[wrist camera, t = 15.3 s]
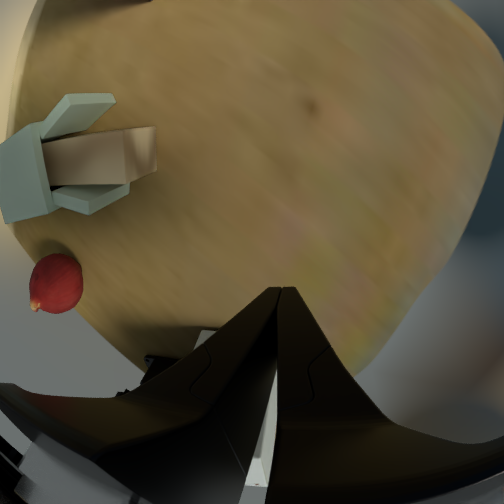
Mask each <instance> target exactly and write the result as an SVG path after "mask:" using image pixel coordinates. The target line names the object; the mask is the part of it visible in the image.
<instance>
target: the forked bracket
mask: <svg viewBox="0 0 504 504" xmlns="http://www.w3.org/2000/svg"><path fill="white" fill-rule="evenodd" d="M115 103H116V101H115V99H114V97H113V95H112V93H76V94H66V95H65V96H64V97H63V98H62V99H61V101H60V102H59V103H58V104H57V105H56V106H55V108H54V109H53V110H52V111H51V113H50V114H49V115H48V116H47V118H46V119H45V120H44V121H41V122H35V123H30V124H29V125H27V126H26V127H24V128H23V129H21V130H20V131H18V132H17V133H15V134H14V135H13V136H11V137H10V138H8V139H7V140H6V141H4V142H3V143H2V144H0V207H1V211H2V215H3V218H4V222H5V224H8V223H12V222H16V221H20V220H24V219H28V218H32V217H37V216H41V215H45V214H49V213H51V212H53V211H55V210H57V209H59V208H61V207H64V208H67V209H70V210H73V211H76V212H79V213H83V214H86V215H91V214H92V213H94V212H96V211H98V210H100V209H101V208H103V207H105V206H107V205H109V204H111V203H112V202H114V201H116V200H118V199H120V198H122V197H124V196H126V195H128V194H129V189H130V183H128V184H87V185H66V186H64V187H61V188H59V189H57V190H54V191H50V186H49V182H48V178H47V173H46V168H45V163H44V158H43V152H42V146H41V143H44V142H48V141H52V140H54V139H56V138H58V137H60V136H62V135H65V134H68V133H73V132H79V131H84V130H87V129H88V128H89V127H90V126H91V125H92V124H93V123H94V122H95V121H96V120H97V119H98V118H100V117H101V116H102V115H103V114H104V113H105V112H106V111H107V110H108V109H110V108H111V107H112V106H113V105H114V104H115Z"/></svg>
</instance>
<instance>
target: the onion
mask: <svg viewBox="0 0 504 504" xmlns="http://www.w3.org/2000/svg"><path fill="white" fill-rule="evenodd" d="M29 290H30V307H31V309H32V310H33V311H35V312H37V311H38V309H42V310H43V311H46V312H49V313H54V314H59V313H63V312H66V311H68V310H70V309H72V308H73V307H75V306H76V304H77V303H78V302H79V300H80V298H81V296H82V293H83V277H82V269H81V266H80V264H79V263H78V262H76V261H75V260H74V259H72V258H71V257H69V256H67V255H64V254H60V253H59V254H51V255H48V256H46V257H44V258H42V259H41V260H40V261H39V262H38V263H37V264H36V266H35V267H34V269H33V272H32V275H31V278H30V283H29Z"/></svg>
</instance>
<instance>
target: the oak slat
mask: <svg viewBox="0 0 504 504" xmlns="http://www.w3.org/2000/svg"><path fill="white" fill-rule="evenodd" d="M41 146H42V152H43V158H44V163H45V168H46V173H47V178H48V182H49V186H53V185H87V184H128V183H130V182H132V181H135V180H137V179H139V178H141V177H144V176H146V175H148V174H151V173H153V172H156V171H157V157H156V126H152V127H140V128H129V129H120V130H112V131H104V132H97V133H91V134H84V135H78V136H72V137H67V138H62V139H57V140H52V141H48V142H44V143H41Z"/></svg>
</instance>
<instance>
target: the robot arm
mask: <svg viewBox="0 0 504 504" xmlns="http://www.w3.org/2000/svg"><path fill="white" fill-rule="evenodd" d="M203 343H204V344H203ZM203 343H202V344H200V345H199V346H198V347H197V348H195V349H194V350H193V351H192V352H190V353H189V354H188V355H186V356H185V357H184V358H182V359H181V360H176V359H169V358H162V357H155V356H149V355H146V356H145V357H144V361H145V363H146V365H147V367H148V370H147V372H146V373H145V375H144V377H143V379H142V380H141V382H140V384H141V385H140V386H139V387H137V388H136V389H134V390H132V391H129V390H127V389H126V390H125V391H124V392H118V393H117V394H116V396H115V397H112V398H85V397H84V398H83V397H64V396H51V395H42V394H36V393H31V392H29V391H26V390H24V389H22V388H20V387H18V386H17V385H15V384H12V383H0V410H1V411H2V412H3V413H4V414H5V415H6V416H7V417H8V418H9V420H11V422H12V423H14V425H15V426H16V427H17V428H18V429H20V431H21V432H22V433H24V435H25V436H27V437H28V438H29V439H30V440H31V441H32V443H31V444H30V446H29V447H28V449H27V451H26V452H25V454H24V455H22V454H20V453H19V452H18V451H17V450H16V449H15V448H14V447H12V446H11V445H10V444H9V443H8V442H7V441H6V440H5V439H4V438H3V437H2V436H0V504H238V503H239V500H240V497H241V494H242V491H243V488H244V485H245V482H246V477H247V475H248V472H249V469H250V465H251V462H252V459H253V455H254V452H255V449H256V445H257V442H258V438H259V435H260V431H261V428H262V424H263V420H264V417H265V413H266V409H267V406H268V402H269V398H270V394H271V390H272V387H273V383H274V379H275V375H276V371H277V429H276V438H275V445H274V451H273V458H272V464H271V470H270V476H269V482H268V487H267V493H266V499H265V504H504V436H501V437H499V438H496V439H493V440H491V441H487V442H483V443H475V444H467V443H459V442H454V441H450V440H446V439H442V438H439V437H435V436H432V435H429V434H425V433H422V432H419V431H416V430H413V429H410V428H407V427H404V426H401V425H398V424H396V423H394V422H393V421H391V420H390V419H389V418H387V416H385V415H384V414H383V413H382V412H381V410H380V409H379V408H378V407H377V406H376V405H375V403H374V402H373V401H372V400H371V399H370V398H369V396H368V395H367V394H366V393H365V392H364V390H363V389H362V388H361V387H360V386H359V385H358V383H357V382H356V381H355V380H354V378H353V377H352V376H351V375H350V373H349V372H348V371H347V370H346V368H345V367H344V365H343V364H342V362H341V361H340V359H339V358H338V356H337V355H336V353H335V351H334V350H333V348H332V347H331V345H330V343H329V341H328V340H327V338H326V336H325V335H324V333H323V331H322V330H321V328H320V326H319V325H318V323H317V321H316V320H315V318H314V317H313V315H312V313H311V312H310V310H309V308H308V307H307V305H306V303H305V302H304V300H303V298H302V297H301V295H300V294H299V292H298V290H297V289H296V287H283V288H281V287H268V288H267V289H266V290H265V291H263V292H262V293H261V294H260V295H259V296H258V297H256V298H255V299H254V300H253V301H252V302H251V303H249V304H248V305H247V306H246V307H245V308H244V309H242V310H241V311H240V312H239V313H238V314H236V315H235V316H234V317H233V318H232V319H231V320H229V321H228V322H227V323H226V324H225V325H223V326H222V327H221V328H220V329H219V330H217V331H216V332H215V333H214V334H213V335H211V336H210V337H209V338H208V339H206V340H205V341H204V342H203Z"/></svg>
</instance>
